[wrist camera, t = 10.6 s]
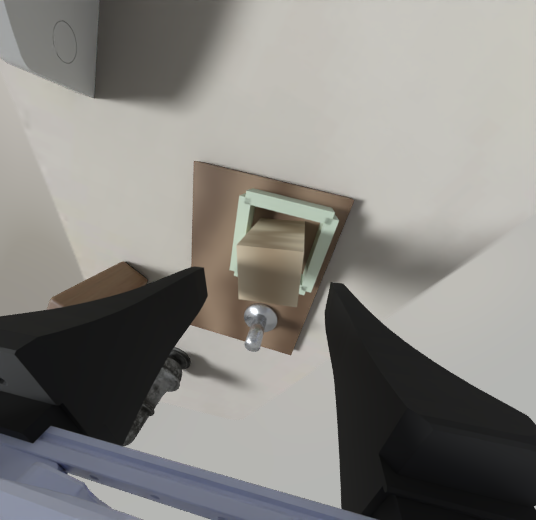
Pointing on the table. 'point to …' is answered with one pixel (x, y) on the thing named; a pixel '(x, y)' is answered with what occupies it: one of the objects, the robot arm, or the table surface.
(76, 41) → the white rounded block
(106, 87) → the table surface
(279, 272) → the maple peg
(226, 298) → the walnut board
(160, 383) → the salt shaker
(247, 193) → the socket collar
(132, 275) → the wooden block
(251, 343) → the metal post
